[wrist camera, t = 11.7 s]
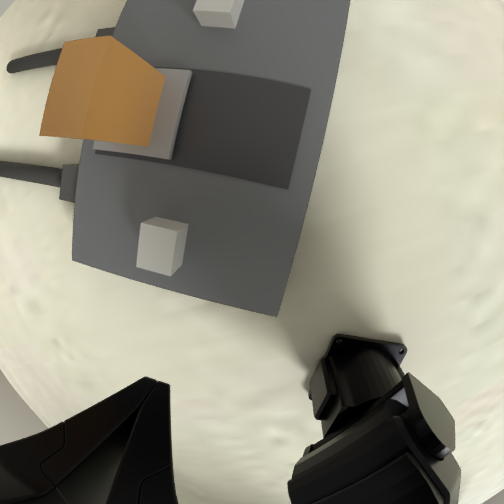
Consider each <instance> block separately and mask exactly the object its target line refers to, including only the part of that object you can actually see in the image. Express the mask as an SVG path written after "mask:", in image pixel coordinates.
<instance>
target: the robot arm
mask: <svg viewBox="0 0 504 504" xmlns="http://www.w3.org/2000/svg"><path fill="white" fill-rule="evenodd" d="M340 339H341V342H336V341H337V340H340ZM401 349H403V350H402V351H400V350H401ZM399 351H400V352H399ZM406 353H407V348H406V346H405V345H404V344H400V343H393V342H386V341H380V340H373V339H367V338H361V337H356V336H350V335H344V334H336V335H335V336H333V338H332V340H331V342H330V345H329V347H328V350H327V352H326V354H325V357H323V358H321V359H320V361H319V363H318V365H317V368H316V370H315V372H314V375H313V377H312V379H311V381H310V387H311V388H310V391H309V393H308V396H309V399H310V400H312V403H313V411H314V417H315V418H316V420H321V424H322V431H323V438H324V439H322V440H320V441H319V442H317V443H316V444H311V445H310V446H308V447H306V449H305V451H304V454H303V457H302V458H300V460H299V461H298V462H297V464H296V465H295V466H294V470H293V474H292V479H290V480H289V481H288V483H287V484H288V494H289V498H290V501H291V504H458V497H459V489H460V479H461V469H460V467H459V465H458V463H457V462H456V460H455V458H454V456H453V455H452V453H451V452H453V451H454V450H455V421H454V419H453V417H452V415H451V414H450V412H449V411H448V410H447V408H446V407H445V405H444V404H443V402H442V401H441V399H440V398H439V397H438V396H436V395H435V394H434V393H433V392H432V391H430V390H429V389H428V388H427V387H426V386H425V385H423V384H422V383H421V382H420V381H419V380H417V379H416V378H415V377H414V376H413V375H411V374H410V373H409V372H408V373H407V374H406V375H404V373H403V371H402V369H401V368H400V364H401V362H402V360H403V358H404V356H405V355H406ZM0 504H178V500H177V496H176V490H175V483H174V472H173V459H172V440H171V410H170V385H169V384H167V383H164V382H161V381H158V382H157V380H155V379H152V378H149V377H143V378H141V379H139V380H138V381H136V382H134V383H133V384H131V385H129V386H127V387H126V388H124V389H122V390H120V391H119V392H117V393H115V394H113V395H111V396H110V397H108V398H106V399H104V400H102V401H101V402H99V403H97V404H95V405H93V406H91V407H90V408H88V409H86V410H84V411H82V412H80V413H78V414H76V415H75V416H73V417H71V418H69V419H67V420H65V421H64V422H61V423H59V424H57V425H55V426H53V427H51V428H49V429H46V430H44V431H42V432H40V433H37V434H34V435H32V436H29V437H26V438H23V439H20V440H17V441H14V442H11V443H7V444H4V445H1V446H0Z"/></svg>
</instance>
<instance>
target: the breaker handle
mask: <svg viewBox="0 0 504 504" xmlns="http://www.w3.org/2000/svg"><path fill="white" fill-rule="evenodd" d="M191 76H192V71H191V70H182V69H164V68H154V67H152V66H151V65H150V64H149V63H147V62H146V61H145V60H143V59H142V58H141V57H139V56H138V55H137V54H135V53H134V52H133V51H131V50H130V49H129V48H127V47H126V46H124V45H123V44H122V43H120V42H119V41H118V40H116V39H115V38H113V37H112V36H101V37H93V38H86V39H80V40H74V41H68V42H65V43H64V45H63V48H62V51H61V54H60V57H59V60H58V63H57V66H56V69H55V72H54V76H53V79H52V83H51V86H50V90H49V94H48V98H47V102H46V106H45V110H44V115H43V119H42V124H41V129H40V135H39V136H52V137H65V138H76V139H86V140H94V145H93V149H97V150H105V151H114V152H121V153H129V154H136V155H143V156H150V157H156V158H163V159H169V160H171V158H172V154H173V149H174V144H175V140H176V135H177V131H178V126H179V122H180V118H181V114H182V110H183V106H184V102H185V98H186V94H187V90H188V86H189V83H190V79H191Z"/></svg>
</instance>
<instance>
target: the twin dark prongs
mask: <svg viewBox="0 0 504 504" xmlns="http://www.w3.org/2000/svg"><path fill="white" fill-rule="evenodd" d="M61 51H62V48H61V49H56V50H51V51H46V52H42V53H37V54H33V55H29V56H25V57H22V58H18V59H15V60H12V61H10V62H9V63H8V65H7V71H8V72H9V73H15V72H20V71H24V70H29V69H34V68H39V67H44V66H50V65H57V63H58V60H59V57H60V54H61ZM0 177H6V178H12V179H17V180H23V181H29V182H34V183H40V184H45V185H50V186H56V187H60V186H61V177H62V169H60V168H52V167H45V166H38V165H30V164H21V163H13V162H4V161H0Z"/></svg>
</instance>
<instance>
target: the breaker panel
mask: <svg viewBox="0 0 504 504" xmlns="http://www.w3.org/2000/svg"><path fill="white" fill-rule="evenodd" d="M349 6H350V0H127V2H126V4H125V6H124V8H123V11H122V13H121V15H120V18H119V20H118V23H117V25H116V27H113V28H105V29H98V31H97V34H96V37H101V36H112V37H113V38H115V39H116V40H118V41H119V42H120V43H122V44H123V45H124V46H126V47H127V48H129V49H130V50H131V51H133V52H134V53H135V54H137V55H138V56H139V57H141V58H142V59H143V60H145V61H146V62H147V63H149V64H150V65H151V66H152V67H154V68H164V69H182V70H191V71H192V76H191V79H190V83H189V86H188V90H187V94H186V98H185V102H184V106H183V110H182V114H181V118H180V122H179V126H178V131H177V135H176V140H175V144H174V149H173V154H172V158H171V160H169V159H163V158H156V157H150V156H143V155H136V154H129V153H121V152H114V151H105V150H97V149H93V145H94V140H86V139H84V140H83V146H82V151H81V157H80V164H70V165H63V169H62V177H61V186H60V197H59V199H60V200H65V201H69V202H74V203H75V207H74V220H73V239H72V260H73V261H76V262H79V263H82V264H85V265H88V266H91V267H94V268H97V269H100V270H103V271H106V272H110V273H113V274H116V275H119V276H122V277H126V278H129V279H132V280H136V281H139V282H142V283H146V284H149V285H153V286H156V287H160V288H163V289H167V290H171V291H174V292H178V293H181V294H185V295H189V296H193V297H196V298H200V299H204V300H208V301H212V302H216V303H220V304H224V305H228V306H232V307H236V308H240V309H244V310H249V311H253V312H257V313H262V314H266V315H270V316H275V317H277V315H278V312H279V309H280V305H281V302H282V298H283V295H284V291H285V288H286V284H287V281H288V277H289V274H290V270H291V267H292V263H293V259H294V256H295V252H296V248H297V245H298V241H299V237H300V233H301V230H302V226H303V222H304V218H305V214H306V210H307V206H308V202H309V198H310V194H311V190H312V186H313V182H314V178H315V174H316V170H317V166H318V161H319V157H320V153H321V148H322V144H323V140H324V135H325V131H326V126H327V122H328V117H329V112H330V108H331V103H332V98H333V93H334V88H335V83H336V78H337V73H338V68H339V63H340V58H341V52H342V47H343V41H344V36H345V30H346V24H347V18H348V12H349Z"/></svg>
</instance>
